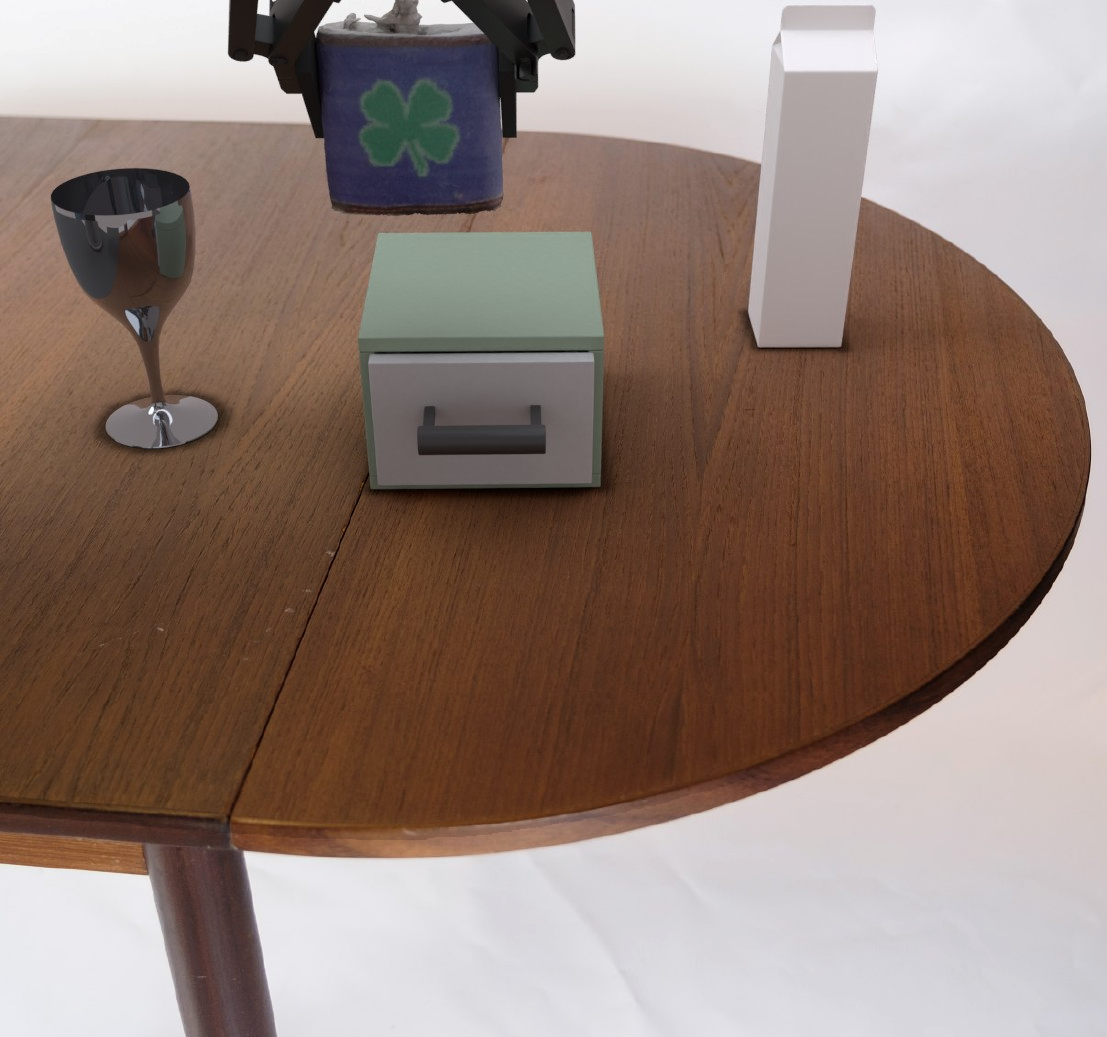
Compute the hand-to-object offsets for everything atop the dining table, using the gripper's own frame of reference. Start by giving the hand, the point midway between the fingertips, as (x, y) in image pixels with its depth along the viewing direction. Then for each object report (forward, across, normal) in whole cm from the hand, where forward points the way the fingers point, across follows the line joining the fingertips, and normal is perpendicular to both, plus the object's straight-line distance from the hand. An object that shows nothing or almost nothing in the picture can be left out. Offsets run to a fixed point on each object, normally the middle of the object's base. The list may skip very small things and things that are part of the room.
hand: (416, 113), depth 77 cm
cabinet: (+18, +3, -12) cm, 22 cm away
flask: (+1, 0, -5) cm, 5 cm away
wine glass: (+19, -18, -11) cm, 28 cm away
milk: (+28, +25, -2) cm, 38 cm away
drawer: (+14, +3, -14) cm, 20 cm away
